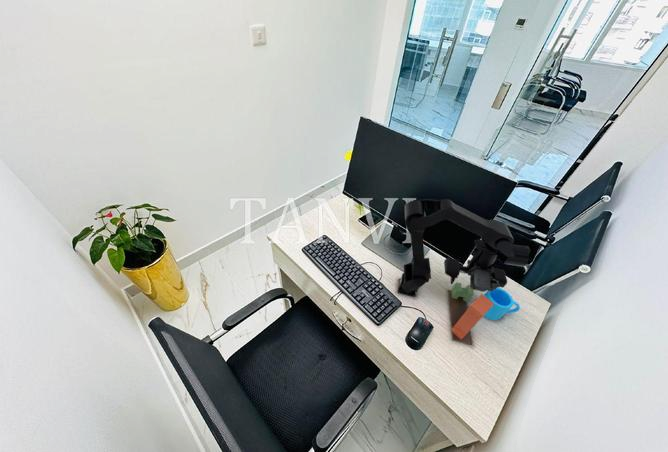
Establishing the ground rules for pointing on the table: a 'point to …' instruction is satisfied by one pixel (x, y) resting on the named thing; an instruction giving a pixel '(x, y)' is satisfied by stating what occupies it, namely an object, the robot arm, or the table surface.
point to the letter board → (458, 316)
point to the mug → (500, 304)
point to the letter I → (472, 316)
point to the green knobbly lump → (462, 292)
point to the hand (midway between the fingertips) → (464, 286)
